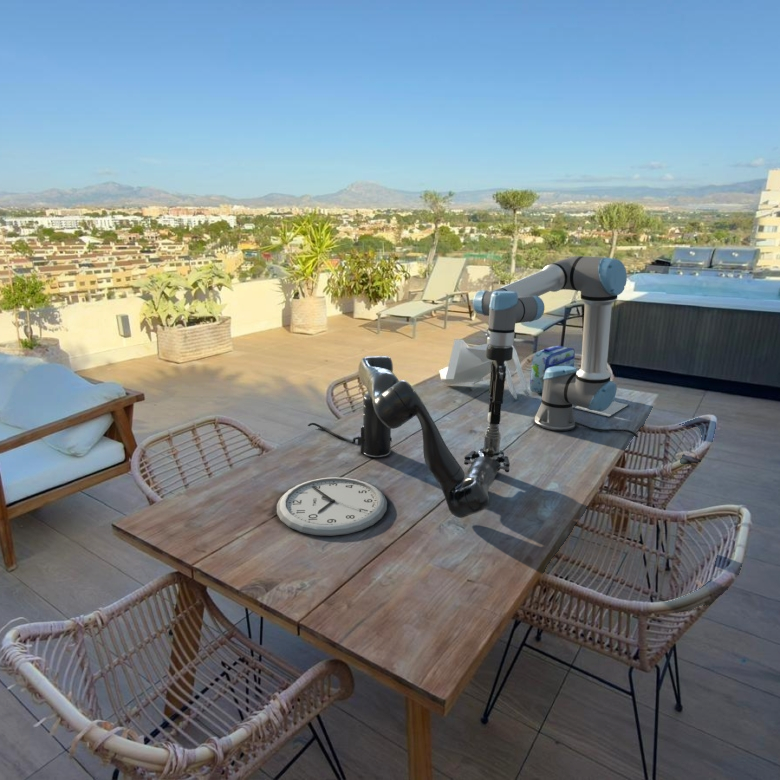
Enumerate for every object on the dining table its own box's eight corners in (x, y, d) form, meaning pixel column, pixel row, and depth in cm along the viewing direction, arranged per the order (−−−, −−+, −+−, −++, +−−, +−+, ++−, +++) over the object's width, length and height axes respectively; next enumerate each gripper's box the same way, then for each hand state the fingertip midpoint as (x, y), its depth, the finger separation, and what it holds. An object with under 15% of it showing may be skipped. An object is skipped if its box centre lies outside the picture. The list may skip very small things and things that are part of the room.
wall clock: (392, 527, 129) (268, 531, 127) (391, 533, 130) (269, 537, 127) (383, 473, 158) (282, 475, 155) (383, 478, 158) (282, 480, 156)
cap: (484, 420, 158) (485, 413, 157) (491, 417, 161) (492, 410, 160) (496, 424, 156) (496, 416, 155) (502, 420, 158) (503, 413, 158)
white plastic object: (461, 429, 252) (437, 405, 227) (444, 352, 274) (420, 323, 250) (535, 404, 240) (518, 377, 215) (510, 326, 262) (492, 293, 237)
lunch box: (546, 399, 235) (551, 353, 228) (525, 393, 242) (530, 349, 236) (574, 387, 252) (579, 345, 246) (553, 383, 260) (558, 341, 253)
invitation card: (608, 416, 214) (573, 407, 224) (608, 416, 214) (573, 408, 224) (628, 404, 229) (594, 396, 238) (628, 405, 229) (594, 397, 238)
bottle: (498, 476, 161) (503, 418, 156) (483, 476, 161) (487, 418, 156) (495, 469, 166) (500, 413, 160) (480, 469, 166) (485, 413, 160)
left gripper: (507, 466, 145) (516, 444, 160) (457, 457, 150) (471, 437, 165) (505, 490, 148) (514, 466, 163) (456, 481, 152) (469, 458, 168)
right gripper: (483, 339, 160) (478, 411, 166) (490, 351, 143) (484, 431, 150) (508, 339, 159) (502, 412, 166) (518, 352, 143) (510, 431, 150)
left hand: (492, 451), depth 164 cm, fingers closed on bottle, 4 cm apart
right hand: (493, 420), depth 158 cm, fingers closed on cap, 4 cm apart
